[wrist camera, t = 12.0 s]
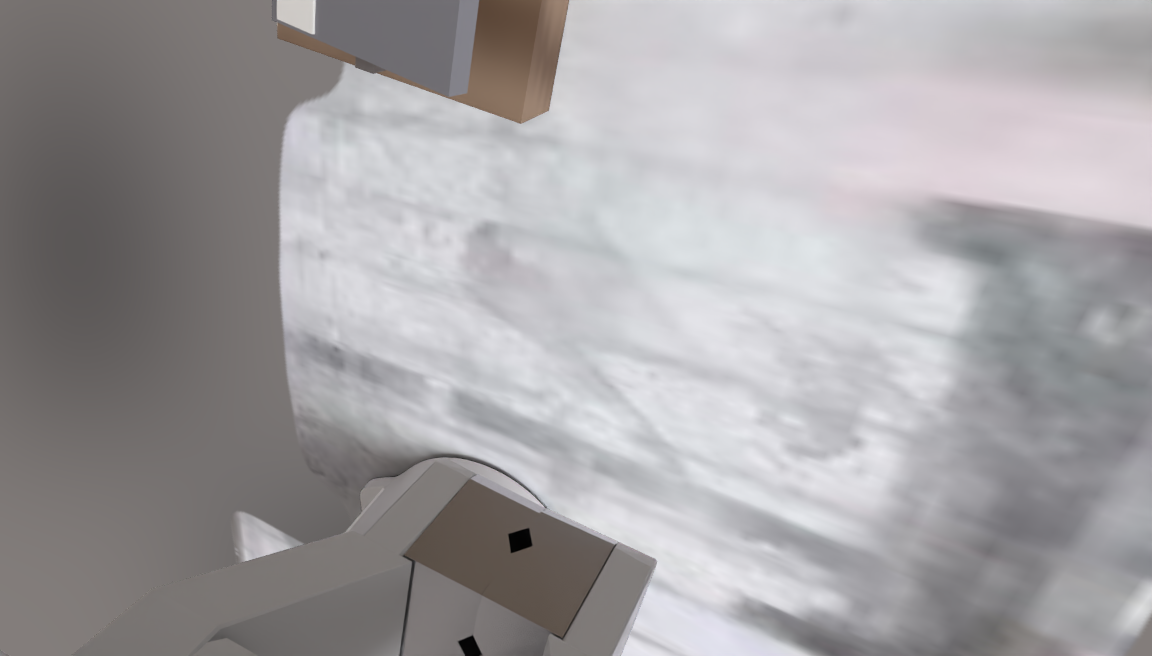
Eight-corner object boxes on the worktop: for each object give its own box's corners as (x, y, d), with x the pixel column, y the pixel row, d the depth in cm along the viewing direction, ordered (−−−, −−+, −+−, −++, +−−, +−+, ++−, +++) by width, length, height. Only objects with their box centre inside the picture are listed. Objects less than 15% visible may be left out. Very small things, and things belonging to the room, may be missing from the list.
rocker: (467, 93, 34) (446, 97, 33) (292, 18, 38) (269, 20, 37) (479, -5, 32) (457, -4, 31) (293, -72, 36) (269, -73, 35)
